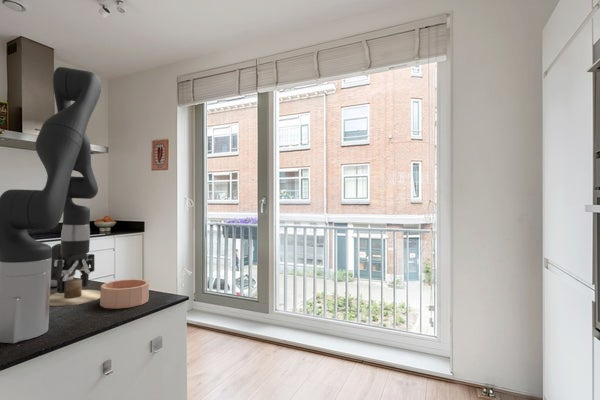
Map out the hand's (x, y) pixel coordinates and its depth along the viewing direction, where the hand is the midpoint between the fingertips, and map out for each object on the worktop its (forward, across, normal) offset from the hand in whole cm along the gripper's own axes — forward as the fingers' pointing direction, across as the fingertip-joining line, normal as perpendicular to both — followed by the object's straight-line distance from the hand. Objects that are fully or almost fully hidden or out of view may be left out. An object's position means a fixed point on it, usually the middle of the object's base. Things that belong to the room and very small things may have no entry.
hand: (73, 289), depth 100 cm
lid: (+3, 0, 0) cm, 3 cm away
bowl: (+3, 0, -18) cm, 18 cm away
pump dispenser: (+3, +13, +18) cm, 22 cm away
